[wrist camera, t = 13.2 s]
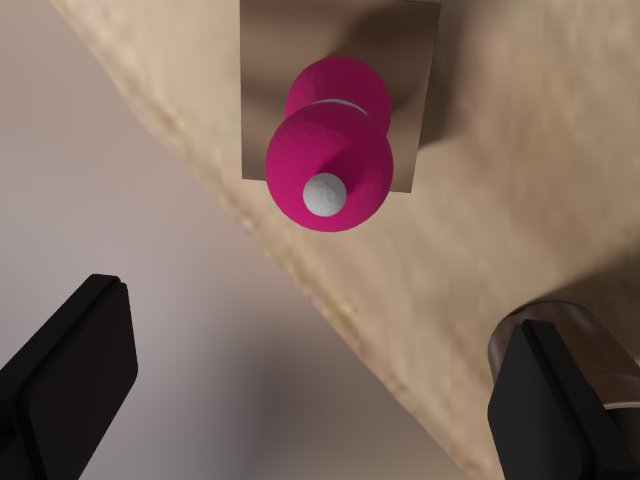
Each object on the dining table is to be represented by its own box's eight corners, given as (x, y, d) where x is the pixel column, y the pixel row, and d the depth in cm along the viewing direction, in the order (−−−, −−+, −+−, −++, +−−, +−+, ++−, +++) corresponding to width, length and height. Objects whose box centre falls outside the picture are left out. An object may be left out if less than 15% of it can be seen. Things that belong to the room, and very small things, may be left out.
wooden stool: (255, -11, 39) (239, -11, 34) (429, 1, 39) (441, 3, 33) (255, 156, 45) (242, 178, 40) (404, 169, 45) (410, 193, 40)
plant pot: (603, 402, 56) (686, 543, 42) (461, 399, 58) (495, 534, 43) (639, 284, 49) (756, 405, 35) (476, 283, 50) (523, 400, 36)
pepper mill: (278, 123, 38) (208, 240, 20) (315, 32, 35) (271, 75, 17) (361, 161, 39) (364, 305, 21) (405, 76, 36) (453, 161, 18)
